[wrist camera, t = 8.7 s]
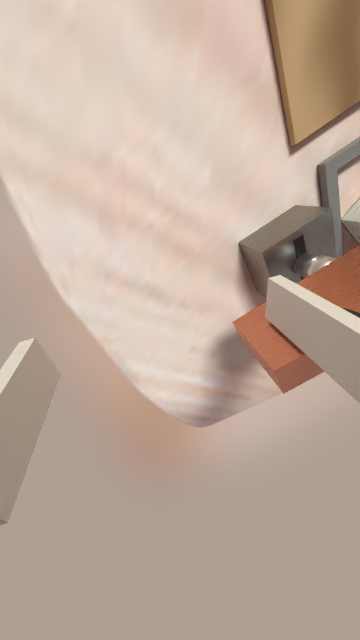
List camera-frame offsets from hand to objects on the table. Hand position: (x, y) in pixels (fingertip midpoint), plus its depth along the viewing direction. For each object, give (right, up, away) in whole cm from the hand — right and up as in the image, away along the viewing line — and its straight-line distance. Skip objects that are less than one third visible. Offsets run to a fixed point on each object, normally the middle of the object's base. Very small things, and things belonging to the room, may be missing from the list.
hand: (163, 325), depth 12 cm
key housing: (+11, +7, +9) cm, 16 cm away
